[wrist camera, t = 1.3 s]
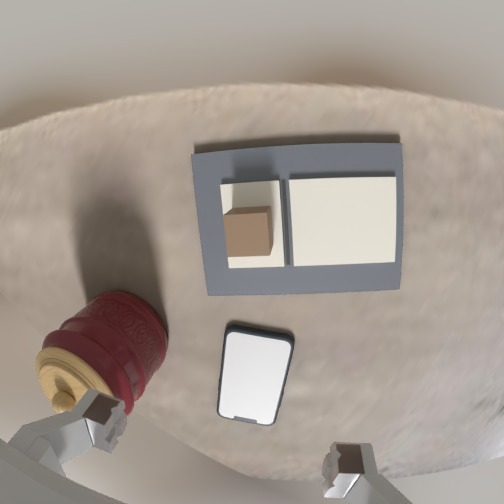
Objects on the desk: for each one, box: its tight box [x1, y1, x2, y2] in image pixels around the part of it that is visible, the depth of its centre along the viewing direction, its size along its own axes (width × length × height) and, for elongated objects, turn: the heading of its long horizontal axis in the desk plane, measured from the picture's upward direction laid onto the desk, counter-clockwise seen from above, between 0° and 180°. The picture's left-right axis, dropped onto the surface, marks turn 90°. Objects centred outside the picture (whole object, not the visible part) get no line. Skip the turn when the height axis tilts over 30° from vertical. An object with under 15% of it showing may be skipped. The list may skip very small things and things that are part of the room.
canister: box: [36, 291, 168, 416], centre depth 34 cm, size 13×13×18 cm
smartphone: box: [217, 325, 294, 426], centre depth 41 cm, size 9×2×16 cm
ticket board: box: [191, 143, 403, 296], centre depth 33 cm, size 22×16×2 cm
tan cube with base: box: [220, 180, 285, 268], centre depth 32 cm, size 6×9×4 cm, turn 5°
